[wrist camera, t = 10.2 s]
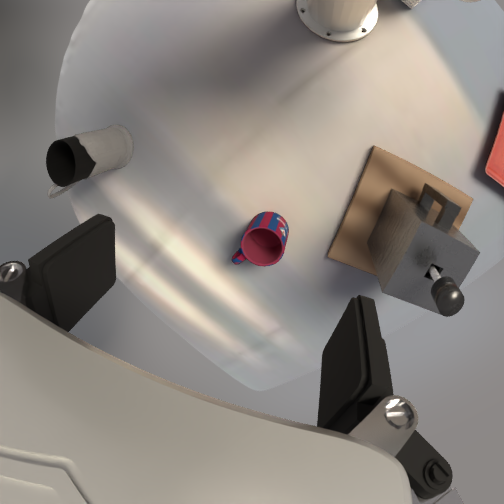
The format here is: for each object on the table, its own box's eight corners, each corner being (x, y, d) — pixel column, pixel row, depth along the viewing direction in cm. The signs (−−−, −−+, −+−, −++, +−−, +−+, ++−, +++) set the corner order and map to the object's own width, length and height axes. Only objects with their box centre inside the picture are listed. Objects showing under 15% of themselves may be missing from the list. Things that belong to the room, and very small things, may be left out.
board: (373, 145, 41) (375, 146, 39) (469, 196, 40) (473, 199, 38) (327, 253, 50) (327, 257, 49) (419, 289, 49) (421, 293, 48)
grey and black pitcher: (141, 147, 48) (87, 163, 35) (103, 194, 54) (52, 221, 41) (115, 115, 46) (58, 124, 33) (80, 165, 52) (28, 185, 39)
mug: (295, 238, 50) (292, 256, 44) (247, 260, 54) (237, 279, 48) (276, 204, 48) (270, 218, 42) (227, 229, 52) (215, 246, 46)
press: (400, 168, 40) (434, 194, 27) (449, 194, 39) (492, 229, 26) (366, 242, 46) (382, 292, 33) (414, 262, 46) (440, 314, 33)
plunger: (395, 197, 42) (445, 259, 23) (434, 216, 41) (494, 284, 23) (374, 240, 45) (404, 322, 27) (413, 257, 45) (454, 340, 27)
